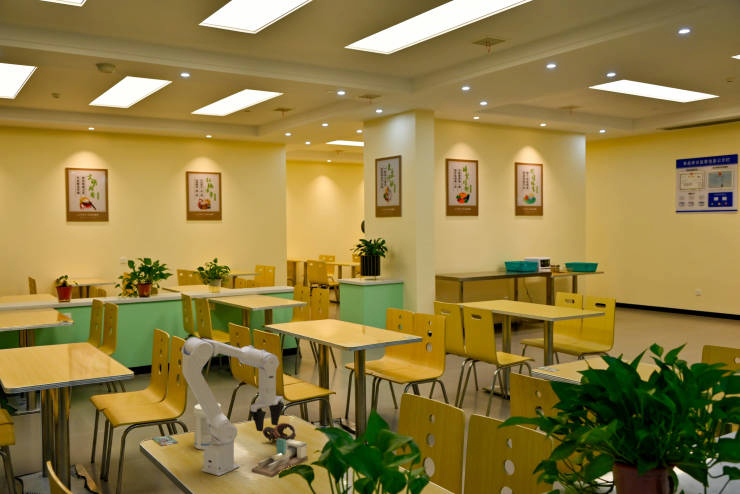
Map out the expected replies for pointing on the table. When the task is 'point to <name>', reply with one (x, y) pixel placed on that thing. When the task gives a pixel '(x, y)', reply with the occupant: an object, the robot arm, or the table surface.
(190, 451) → the table surface
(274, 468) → the channel board
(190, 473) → the table surface
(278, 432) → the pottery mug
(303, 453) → the socket block
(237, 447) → the table surface
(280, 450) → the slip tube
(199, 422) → the supplement tub
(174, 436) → the table surface
